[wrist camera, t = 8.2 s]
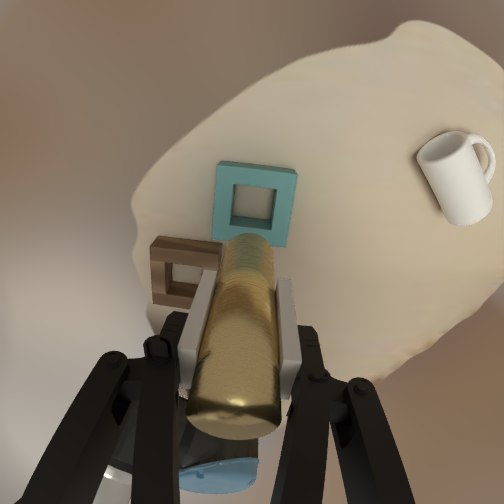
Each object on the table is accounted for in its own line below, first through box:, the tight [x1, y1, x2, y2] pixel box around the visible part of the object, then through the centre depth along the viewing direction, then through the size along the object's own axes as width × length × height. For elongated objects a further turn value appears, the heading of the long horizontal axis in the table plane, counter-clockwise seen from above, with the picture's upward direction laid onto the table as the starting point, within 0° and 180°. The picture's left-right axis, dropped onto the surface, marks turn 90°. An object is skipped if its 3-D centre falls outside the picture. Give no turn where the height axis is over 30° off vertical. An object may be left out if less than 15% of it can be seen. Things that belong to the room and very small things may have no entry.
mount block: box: [150, 236, 222, 309], centre depth 40 cm, size 9×9×4 cm
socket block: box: [212, 161, 297, 248], centre depth 36 cm, size 9×9×4 cm
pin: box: [186, 233, 282, 440], centre depth 16 cm, size 4×4×14 cm
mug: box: [417, 131, 496, 226], centre depth 30 cm, size 12×10×8 cm
